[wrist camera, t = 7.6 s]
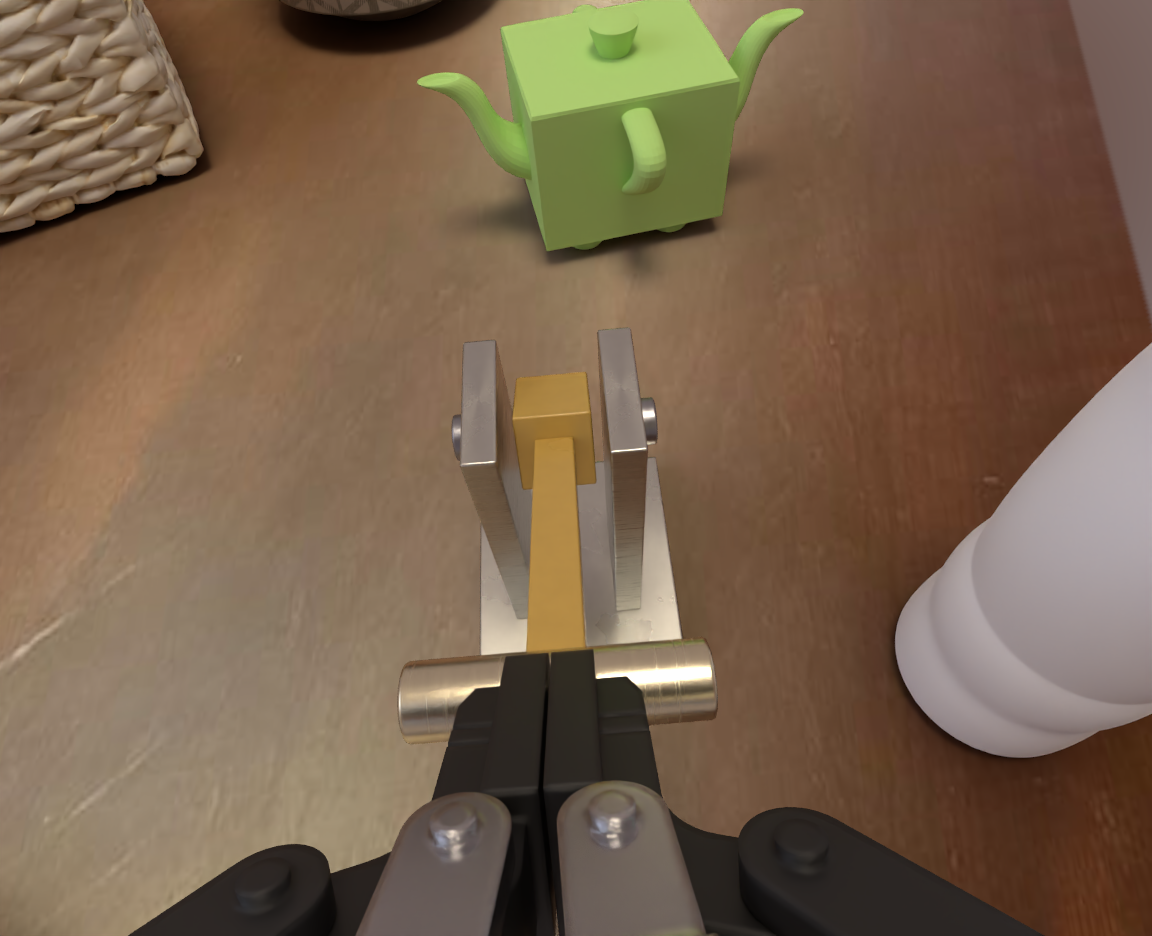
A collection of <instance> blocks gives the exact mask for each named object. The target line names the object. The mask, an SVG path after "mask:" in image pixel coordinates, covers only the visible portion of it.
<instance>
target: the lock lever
mask: <svg viewBox="0 0 1152 936" xmlns="http://www.w3.org/2000/svg"><path fill="white" fill-rule="evenodd" d="M512 423H513V430H514V437H515V444H516V451H517V457H518V464H519V471H520V478H521V485H522V488H523V490H529V489H533V491H532V516H531V541H530V566H529V592H528V617H527V642H526V651H525V652H513V653H501V654H489V655H477V656H465V657H453V658H441V659H429V660H417V661H410V662H408V663H406V664H405V665H404V667H403V669H402V672H401V676H400V680H399V686H398V699H397V707H398V720H399V726H400V730H401V733H402V736H403V739H404V740H405V742H406V743H408V744H411V745H412V744H425V743H437V742H448V741H449V738H450V734H451V731H452V730H453V724H454V720H455V717H456V713H457V709H458V706H459V705H460V704H461V703H462V702H463V701H464V700H465V699H466V698H467V697H468V696H469V695H470V694H471V693H472V692H473V690H474V689H475V688H484V687H496V686H500V682H501V677H502V671H503V666H504V661H505V657H506V656H514V655H527V654H539V653H548V654H549V659H550V665H551V653H552V652H562V651H574V650H587V649H593V651H594V661H595V672H596V678H606V677H618V676H628V677H629V678H630V679H631V680H632V681H633V682H634V683H635V684H636V685H637V686H638V687H639V688H640V689H641V690H642V692H643V697H644V703H645V708H646V714H647V719H648V725H658V724H671V723H683V722H695V721H708V720H713V719H715V718H716V715H717V710H718V695H717V683H716V675H715V668H714V663H713V658H712V653H711V650H710V647H709V644H708V642H707V640H706V639H705V638H703V637H693V638H681V639H669V640H657V641H645V642H633V643H621V644H609V645H597V646H587V637H586V620H585V604H584V587H583V571H582V554H581V537H580V521H579V504H578V488H577V485H587V484H595V483H596V481H597V479H596V467H595V455H594V442H593V430H592V418H591V407H590V398H589V389H588V380H587V373H586V372H578V373H567V374H556V375H545V376H533V377H522V378H517V379H516V385H515V395H514V405H513V415H512Z"/></svg>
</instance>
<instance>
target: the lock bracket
mask: <svg viewBox="0 0 1152 936" xmlns="http://www.w3.org/2000/svg"><path fill="white" fill-rule="evenodd" d="M597 339H598V359H599V378H600V398H601V417H602V437H603V456H604V461H603V462H595V467H596V479H597V481H596V483H595V484H587V485H577V488H578V504H579V521H580V537H581V554H582V571H583V587H584V604H585V620H586V637H587V646H597V645H609V644H621V643H633V642H645V641H657V640H669V639H681V638H683V636H682V629H681V622H680V616H679V609H678V602H677V595H676V589H675V582H674V575H673V569H672V562H671V555H670V549H669V542H668V535H667V528H666V522H665V515H664V508H663V502H662V495H661V488H660V481H659V475H658V468H657V461H656V458H655V457H648V446H647V445H649V444H656V443H657V435H658V433H657V416H656V408H655V403H654V400H653V398H651V397H650V398H641V397H640V390H639V383H638V376H637V369H636V362H635V355H634V348H633V341H632V334H631V329H630V328H617V329H606V330H599V331H598V332H597ZM512 415H513V413H512V408H511V404H510V400H509V395H508V391H507V387H506V382H505V378H504V373H503V369H502V365H501V360H500V356H499V352H498V347H497V343H496V341H495V340H486V341H475V342H465V343H464V344H463V362H462V400H461V414H459V415H454V416H453V420H452V441H453V447H454V452H455V455H456V458H457V460H458V461H460V467H461V470H462V473H463V475H464V478H465V481H466V483H467V486H468V489H469V492H470V494H471V497H472V500H473V502H474V505H475V508H476V510H477V513H478V516H479V518H480V521H481V559H480V655H489V654H501V653H513V652H525V651H526V642H527V617H528V592H529V566H530V541H531V516H532V491H533V489H529V490H523V488H522V485H521V478H520V471H519V464H518V457H517V451H516V444H515V437H514V430H513V423H512Z"/></svg>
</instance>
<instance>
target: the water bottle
mask: <svg viewBox="0 0 1152 936" xmlns="http://www.w3.org/2000/svg"><path fill="white" fill-rule="evenodd" d="M895 651H896V657H897V662H898V666H899V670H900V672H901V675H902V677H903V680H904V682H905V684H906V686H907V688H908V690H909V692H910V693H911V695H912V697H913V698H914V700H915V701H916V702H917V704H918V705H919V706H920V707H921V709H922V710H923V711H924V712H925V713H926V714H927V715H928V716H929V717H930V718H931V719H932V720H933V721H934V722H935V723H936V724H937V725H938V726H939V727H940V728H942V729H943V730H944V731H946V732H947V733H949V734H950V735H951V736H953V737H954V738H956V739H958V740H960V741H961V742H963V743H965V744H967V745H969V746H971V747H973V748H976V749H979V750H981V751H984V752H987V753H990V754H994V755H999V756H1005V757H1017V758H1028V757H1036V756H1042V755H1046V754H1050V753H1053V752H1056V751H1059V750H1062V749H1064V748H1067V747H1069V746H1072V745H1074V744H1076V743H1078V742H1080V741H1082V740H1084V739H1086V738H1088V737H1090V736H1091V735H1093V734H1095V733H1096V732H1098V731H1100V730H1106V729H1110V728H1114V727H1118V726H1121V725H1125V724H1128V723H1131V722H1133V721H1136V720H1138V719H1141V718H1143V717H1146V716H1148V715H1150V714H1152V343H1151V344H1150V345H1149V346H1148V347H1146V348H1145V349H1144V350H1143V351H1142V352H1141V353H1139V354H1138V355H1137V356H1136V357H1135V358H1134V359H1133V360H1132V361H1131V362H1130V363H1129V364H1127V365H1126V366H1125V367H1124V368H1123V369H1122V370H1121V371H1120V372H1119V373H1118V374H1117V375H1116V376H1115V377H1114V378H1113V379H1112V380H1111V381H1110V382H1109V383H1107V384H1106V385H1105V386H1104V387H1103V388H1102V389H1101V390H1100V391H1099V392H1098V393H1097V394H1096V395H1095V396H1094V397H1093V398H1092V399H1091V400H1090V401H1089V403H1088V404H1087V405H1086V406H1085V407H1084V408H1083V409H1082V410H1081V411H1080V412H1079V413H1078V414H1077V415H1076V416H1075V417H1074V418H1073V419H1072V420H1071V421H1070V422H1069V424H1068V425H1067V426H1066V427H1065V428H1064V429H1063V430H1062V431H1061V432H1060V433H1059V434H1058V435H1057V437H1056V438H1055V439H1054V440H1053V441H1052V442H1051V443H1050V444H1049V445H1048V447H1047V448H1046V449H1045V450H1044V451H1043V452H1042V453H1041V454H1040V456H1039V457H1038V458H1037V459H1036V460H1035V461H1034V462H1033V464H1032V465H1031V466H1030V467H1029V468H1028V469H1027V471H1026V472H1025V473H1024V474H1023V475H1022V477H1021V478H1020V479H1019V480H1018V481H1017V483H1016V484H1015V485H1014V486H1013V488H1012V489H1011V490H1010V492H1009V493H1008V494H1007V496H1006V497H1005V498H1004V499H1003V501H1002V502H1001V504H1000V505H999V507H998V508H997V509H996V511H995V512H994V514H993V515H992V517H991V518H990V519H988V520H986V521H985V522H984V523H982V524H981V525H979V526H978V527H977V528H976V529H974V530H973V531H972V532H971V533H970V534H969V535H968V536H967V537H966V538H965V539H964V540H963V541H962V542H961V543H960V544H959V545H958V546H957V547H956V549H955V550H954V551H953V552H952V554H951V555H950V556H949V558H948V559H947V561H946V562H945V564H944V566H943V567H942V568H940V569H939V570H938V571H936V572H935V573H934V574H933V575H932V576H931V577H929V578H928V579H927V580H926V581H925V582H924V583H923V584H922V585H921V586H920V587H919V588H918V589H917V590H916V592H915V593H914V594H913V595H912V596H911V598H910V599H909V600H908V602H907V603H906V605H905V606H904V608H903V610H902V612H901V615H900V617H899V620H898V623H897V628H896V634H895Z"/></svg>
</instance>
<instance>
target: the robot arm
mask: <svg viewBox="0 0 1152 936" xmlns="http://www.w3.org/2000/svg"><path fill="white" fill-rule="evenodd" d="M556 909H557V919H558V928H559V936H1044V935H1042V934H1040V933H1039V932H1037V931H1035V930H1033V929H1031V928H1030V927H1028V926H1026V925H1024V924H1022V923H1021V922H1019V921H1017V920H1015V919H1014V918H1012V917H1010V916H1008V915H1006V914H1005V913H1003V912H1001V911H999V910H997V909H996V908H994V907H992V906H990V905H989V904H987V903H985V902H983V901H981V900H980V899H978V898H976V897H974V896H972V895H971V894H969V893H967V892H965V891H963V890H962V889H960V888H958V887H956V886H955V885H953V884H951V883H949V882H947V881H946V880H944V879H942V878H940V877H938V876H937V875H935V874H933V873H931V872H930V871H928V870H926V869H924V868H922V867H921V866H919V865H917V864H915V863H913V862H912V861H910V860H908V859H906V858H905V857H903V856H901V855H899V854H897V853H896V852H894V851H892V850H890V849H888V848H887V847H885V846H883V845H881V844H880V843H878V842H876V841H874V840H872V839H871V838H869V837H867V836H865V835H863V834H862V833H860V832H858V831H856V830H854V829H853V828H851V827H849V826H847V825H846V824H844V823H842V822H840V821H838V820H837V819H835V818H833V817H830V816H828V815H826V814H823V813H820V812H818V811H814V810H810V809H805V808H796V807H784V808H776V809H772V810H768V811H765V812H762V813H760V814H758V815H756V816H755V817H753V818H752V819H750V820H749V821H748V822H747V823H746V824H745V826H744V827H743V829H742V830H741V833H740V835H739V838H737V837H731V836H725V835H720V834H715V833H710V832H706V831H703V830H700V829H697V828H695V827H693V826H691V825H689V824H687V823H685V822H684V821H682V820H681V819H679V818H678V817H677V816H676V815H674V814H673V813H672V812H671V811H670V809H669V808H668V807H667V805H666V803H665V801H664V800H663V797H662V794H661V790H660V784H659V779H658V773H657V768H656V763H655V757H654V752H653V746H652V741H651V735H650V731H649V725H648V719H647V714H646V708H645V703H644V697H643V692H642V690H641V689H640V688H639V687H638V686H637V685H636V684H635V683H634V682H633V681H632V680H631V679H630V678H629V677H628V676H618V677H606V678H596V672H595V661H594V651H593V649H587V650H574V651H562V652H552V653H551V665H550V659H549V654H548V653H539V654H527V655H514V656H506V657H505V661H504V666H503V671H502V677H501V682H500V686H496V687H484V688H475V689H474V690H473V692H472V693H471V694H470V695H469V696H468V697H467V698H466V699H465V700H464V701H463V702H462V703H461V704H460V705H459V706H458V709H457V713H456V717H455V720H454V724H453V730H452V731H451V734H450V738H449V741H448V747H447V748H446V752H445V755H444V759H443V762H442V766H441V769H440V773H439V776H438V780H437V783H436V787H435V791H434V794H433V798H432V801H431V802H429V803H427V804H425V805H424V806H422V807H421V808H419V809H418V810H417V811H415V812H414V813H413V814H412V815H411V816H410V817H409V818H408V820H407V821H406V822H405V823H404V825H403V827H402V829H401V830H400V833H399V835H398V837H397V840H396V842H395V844H394V847H393V849H392V851H391V852H389V853H387V854H385V855H383V856H381V857H379V858H376V859H373V860H371V861H368V862H365V863H362V864H359V865H356V866H353V867H350V868H346V869H343V870H340V871H337V872H334V873H331V874H330V869H329V864H328V861H327V859H326V857H325V855H324V854H323V853H321V852H320V851H319V850H317V849H315V848H314V847H310V846H307V845H300V844H288V845H281V846H276V847H272V848H268V849H265V850H263V851H260V852H257V853H255V854H253V855H251V856H249V857H247V858H245V859H243V860H241V861H240V862H238V863H236V864H235V865H233V866H232V867H230V868H229V869H227V870H226V871H224V872H223V873H221V874H220V875H218V876H217V877H215V878H214V879H212V880H211V881H209V882H208V883H206V884H205V885H203V886H202V887H200V888H199V889H197V890H196V891H194V892H193V893H191V894H190V895H188V896H187V897H185V898H184V899H182V900H181V901H179V902H178V903H176V904H175V905H173V906H172V907H170V908H169V909H167V910H166V911H164V912H163V913H161V914H160V915H158V916H157V917H155V918H154V919H152V920H151V921H149V922H148V923H146V924H145V925H143V926H142V927H140V928H139V929H137V930H136V931H134V932H133V933H131V934H130V935H128V936H555V928H556Z"/></svg>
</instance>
